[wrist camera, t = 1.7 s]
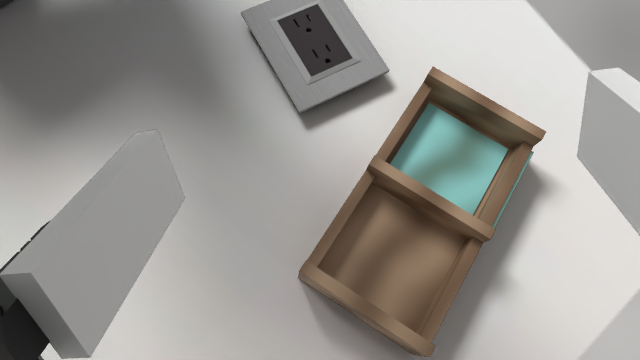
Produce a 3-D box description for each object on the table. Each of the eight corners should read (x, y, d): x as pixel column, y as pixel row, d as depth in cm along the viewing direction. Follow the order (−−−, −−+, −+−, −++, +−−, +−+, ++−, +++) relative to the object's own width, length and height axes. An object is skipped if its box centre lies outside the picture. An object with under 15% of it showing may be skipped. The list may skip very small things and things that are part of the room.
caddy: (298, 277, 41) (299, 270, 36) (418, 92, 48) (432, 66, 43) (415, 356, 39) (432, 359, 34) (522, 153, 46) (549, 133, 41)
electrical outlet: (385, 80, 48) (390, 68, 46) (298, 121, 46) (299, 110, 44) (326, -10, 52) (327, -25, 49) (242, 24, 49) (240, 9, 47)
